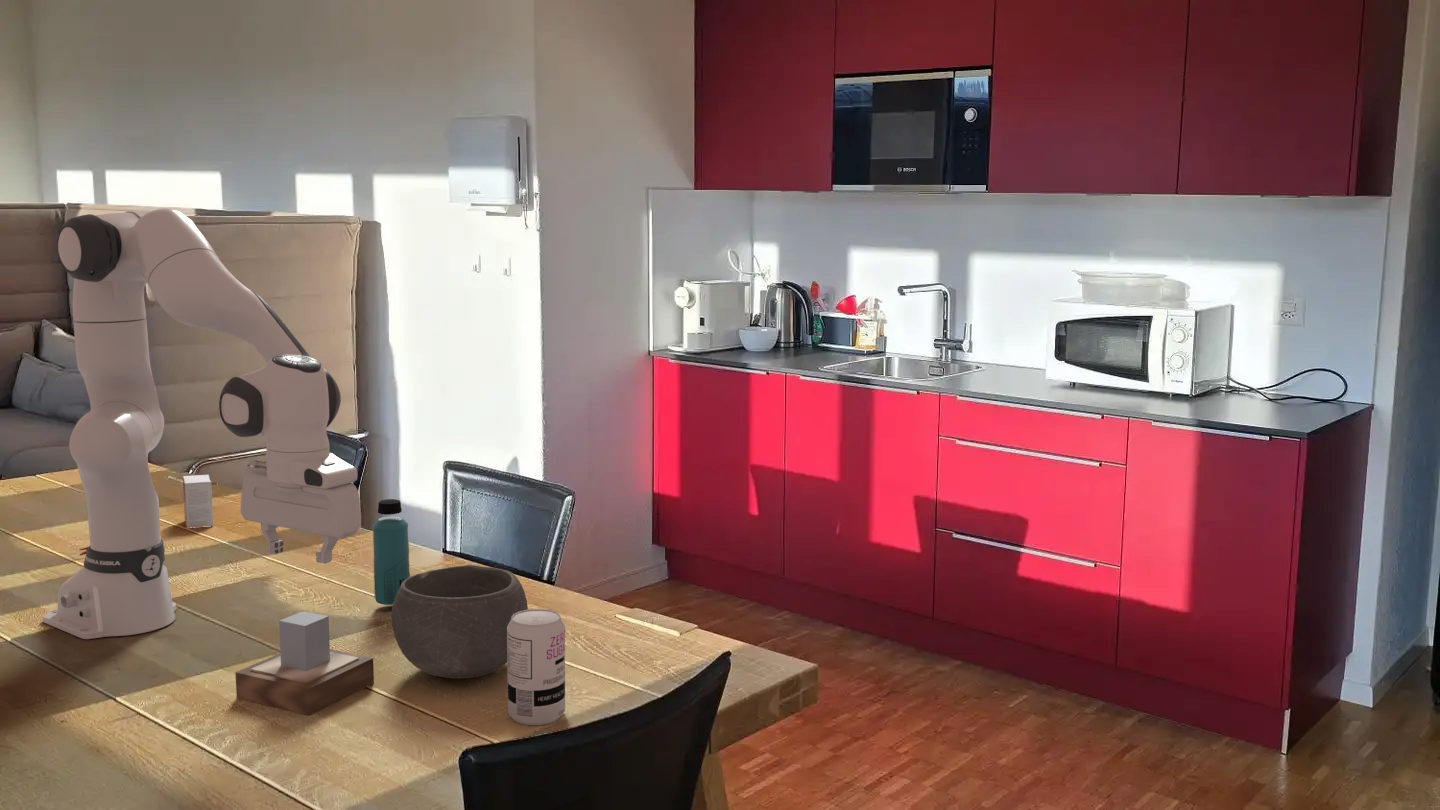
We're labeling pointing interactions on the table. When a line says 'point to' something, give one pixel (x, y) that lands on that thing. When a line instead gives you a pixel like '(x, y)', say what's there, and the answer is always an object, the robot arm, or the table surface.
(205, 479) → the small box
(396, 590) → the beverage bottle
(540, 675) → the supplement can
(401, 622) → the bowl
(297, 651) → the block
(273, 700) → the base
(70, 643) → the table surface
